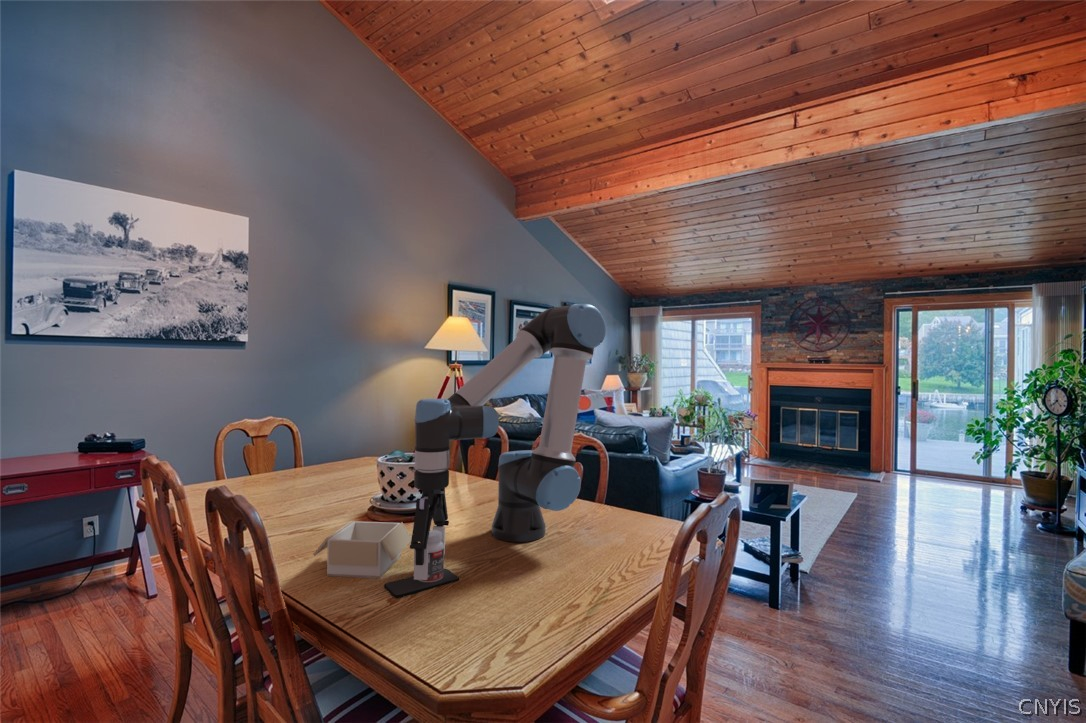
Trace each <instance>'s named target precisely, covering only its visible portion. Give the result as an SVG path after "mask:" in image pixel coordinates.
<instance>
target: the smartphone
mask: <svg viewBox="0 0 1086 723" xmlns="http://www.w3.org/2000/svg"><path fill="white" fill-rule="evenodd" d="M459 581H460V577H459V576H458V575H457V574H455V573H454V572H453V571H451V570H450V569H448V568H444V569H443V578H442V579H440V580H438V581H435V582H421V581H419V580H414V575H413V576H407V577H405V578H404V577H403V578H400V579H395V580H392V581H388V582H385V583H384V584H383V588H384V589H385V590H386V591H387V592H388V594H390V596H391V597H392V598H393V599H402V598H404V597H405V598H406V597H408V596H412V595H415V594H418V593H419V594H420V593H422V592H426V591H429V590H432V589H435V588H439V587H442V586H446V585H449V584H452V583H457V582H459Z"/></svg>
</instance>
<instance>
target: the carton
mask: <svg viewBox="0 0 1086 723" xmlns="http://www.w3.org/2000/svg"><path fill="white" fill-rule="evenodd" d="M400 523H401V522H382V521H381V522H380V521H359V520H358V521H354V520H353V522H352V523H351V524H350V525H348V526H347V527H345V528H344V529H343V530H341V531H340V532H338V533H337V534H335V535H334V536H333V537H331V538H330V539H328V547H327V554H326V555H327V558H326V559H327V560H326V562H327V563H326V569H327V570H326V576H327V577H338V578H341V577H342V578H362V579H363V578H364V579H365V578H366V579H381V578H382V577H383V575H385V573H386V572H387V571H388V570H389V569H390V568H391V567H392V566H393V565H394V564H395V562H396V561H397V560H398V559H400V557H401V555H402V551H401V552H400V553H399V554H398V556H397V557H396V558H395V559H394V560H392V561H391V559H390V557H389V556H388V554H387V552H386V550H385V548H384V546H383V544H382V542H381V540H382V539H383V538H384V537H386V536H387V535H388V534H389V533H390V532H391V531H392V530H393V529H394V528H396V527H397V526H398V525H399V524H400Z"/></svg>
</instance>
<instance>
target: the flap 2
mask: <svg viewBox="0 0 1086 723" xmlns="http://www.w3.org/2000/svg"><path fill="white" fill-rule="evenodd" d="M399 523H400V524H399V525H398V526H397V527H396V528H394V529H393V530H392V531H391V532H390V533H389V534H388V535H387V536H386V537H384V538H383V539H382V540H381V542H382V544H383V546H384V548H385V550H386V552H387V554H388V556H389V557H390V559H391V561H392V560H394V559H395V558H396V557H397V556H398V554H399V553H400V552H401V553H402V551H403V550H405V548H406V547H407V546H408V545H410V544H411V539H412V536H410V534H409V532H408V531H409V530H408V529H407V528H406V526H405V523H403V521H401V522H399Z"/></svg>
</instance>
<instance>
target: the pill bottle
mask: <svg viewBox="0 0 1086 723" xmlns="http://www.w3.org/2000/svg"><path fill="white" fill-rule="evenodd" d="M441 539H442V532H441V531H438V530H433V529H431V530H430V532H429V537H428V542H427V547H428V579H427V580H419V581H421V582H435V581H438V580H440V579H442V578H443V569H445V568H444V565H445V564H444V562H445V561H444V560H445V559H444V558H445V554H444V545H443V543H442V542H441Z"/></svg>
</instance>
